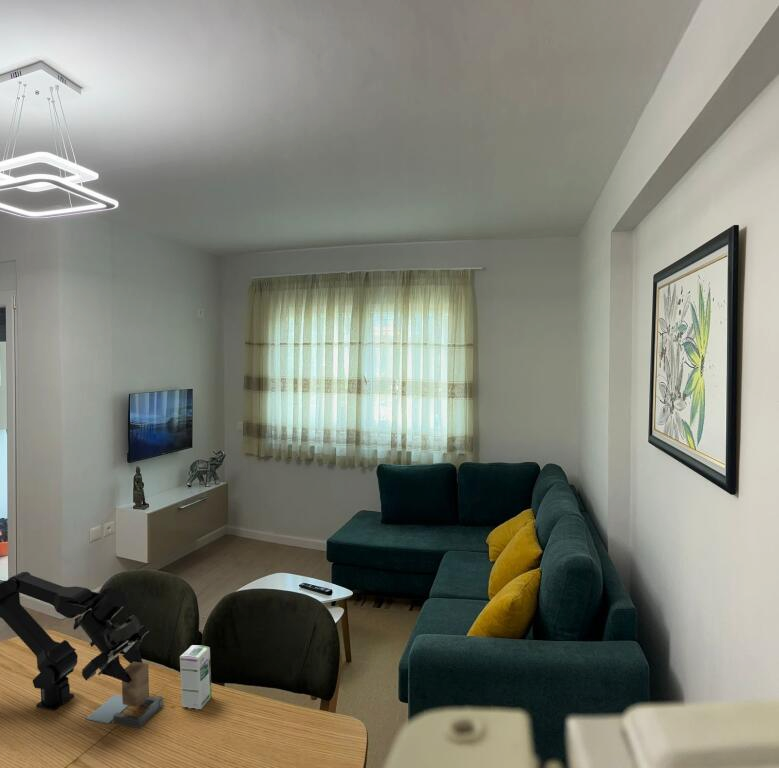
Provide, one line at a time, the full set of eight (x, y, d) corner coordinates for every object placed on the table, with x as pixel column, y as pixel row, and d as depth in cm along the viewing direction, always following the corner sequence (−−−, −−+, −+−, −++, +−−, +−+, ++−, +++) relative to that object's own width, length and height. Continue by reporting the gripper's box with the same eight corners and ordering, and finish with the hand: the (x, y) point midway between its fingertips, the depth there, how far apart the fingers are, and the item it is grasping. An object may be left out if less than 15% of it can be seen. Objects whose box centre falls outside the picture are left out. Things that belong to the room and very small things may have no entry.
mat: (86, 719, 140) (86, 718, 140) (114, 695, 149) (114, 694, 149) (108, 723, 138) (108, 722, 138) (136, 699, 148) (135, 698, 148)
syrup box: (200, 710, 143) (199, 657, 142) (180, 707, 144) (179, 655, 143) (212, 696, 148) (210, 646, 148) (192, 694, 150) (191, 643, 149)
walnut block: (122, 704, 140) (121, 670, 139) (134, 693, 144) (133, 661, 144) (137, 707, 139) (136, 673, 138) (149, 696, 143) (148, 663, 143)
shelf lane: (113, 723, 138) (113, 713, 138) (137, 701, 147) (137, 692, 147) (139, 728, 136) (139, 718, 136) (162, 705, 145) (162, 696, 145)
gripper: (89, 629, 132) (129, 679, 130) (142, 596, 150) (177, 639, 148) (64, 655, 135) (102, 705, 133) (119, 620, 153) (153, 663, 151)
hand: (136, 676), depth 141 cm, fingers closed on walnut block, 4 cm apart
